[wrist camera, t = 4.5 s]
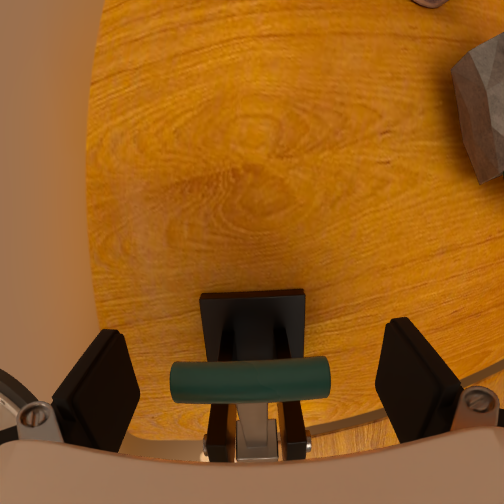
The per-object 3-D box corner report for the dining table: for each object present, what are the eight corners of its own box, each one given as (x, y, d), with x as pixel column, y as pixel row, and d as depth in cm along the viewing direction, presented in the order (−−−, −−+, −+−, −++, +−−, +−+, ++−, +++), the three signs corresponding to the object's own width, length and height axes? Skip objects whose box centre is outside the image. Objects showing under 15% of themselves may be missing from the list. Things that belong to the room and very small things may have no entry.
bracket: (201, 293, 25) (163, 406, 13) (303, 288, 25) (344, 399, 13) (214, 389, 28) (198, 505, 15) (300, 385, 28) (322, 500, 15)
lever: (173, 341, 10) (165, 406, 8) (324, 335, 10) (335, 401, 8) (217, 432, 18) (216, 467, 16) (297, 429, 17) (300, 464, 16)
